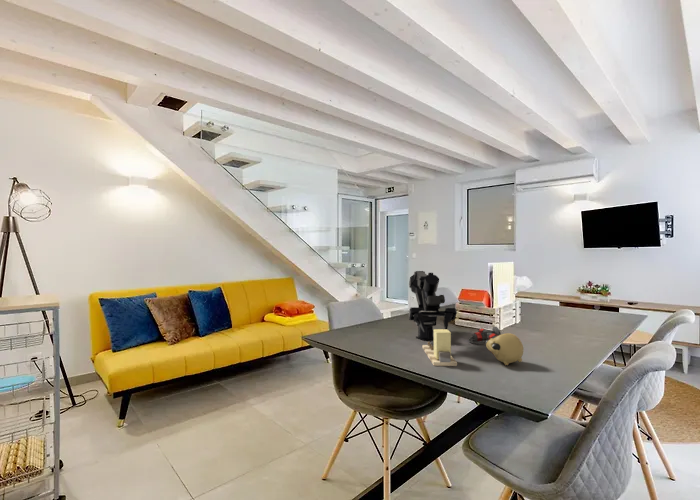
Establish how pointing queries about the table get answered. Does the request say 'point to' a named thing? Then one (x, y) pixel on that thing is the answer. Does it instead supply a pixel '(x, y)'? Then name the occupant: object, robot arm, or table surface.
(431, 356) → the comb board
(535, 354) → the table surface
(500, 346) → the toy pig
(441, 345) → the yellow square block
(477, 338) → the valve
